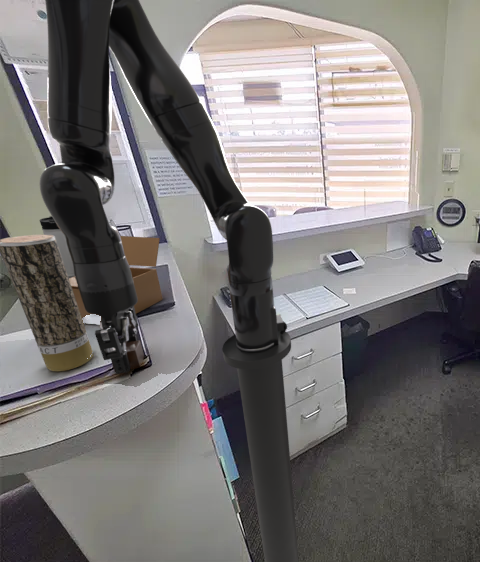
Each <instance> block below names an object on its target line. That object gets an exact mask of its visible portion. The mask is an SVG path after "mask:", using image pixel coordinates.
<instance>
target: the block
mask: <svg viewBox="0 0 480 562" xmlns="http://www.w3.org/2000/svg"><path fill="white" fill-rule="evenodd" d="M113 350H115V348H113ZM126 350H127V356H128V359H129V363H130V367H131V369H130V371H131V370H135V369H140V368H141V367H142V364H143V362H144V360H145V353H144V350H143V346H142V342H141V339H139V340H138V339H137V341H132V342H126ZM110 361H111V364H112V368H113V371H114V372H115V370H114V367H113V363H112V360H111V359H110Z"/></svg>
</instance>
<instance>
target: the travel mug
mask: <svg viewBox="0 0 480 562" xmlns="http://www.w3.org/2000/svg"><path fill="white" fill-rule="evenodd" d="M39 223H40V226H41V230H42V233H43V235H54V238H55V239H56V242H57V245H58V248H59V251H60V254H61V257H62V260H63V263H64V266H65V269H66V272H67V275H68V278H72V277H75V275H74V267H73V262H72V259H71V256H70V253H69V249H68V246H67V243H66V238H65V236H64V234H63V233H62V231H61V230H60V229H59V227H58V226H57V224H56V222H55V221H54V219H53V217H52V216H51V215H49V216H48V217H43V218H41V219H39Z"/></svg>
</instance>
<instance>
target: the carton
mask: <svg viewBox="0 0 480 562" xmlns="http://www.w3.org/2000/svg"><path fill="white" fill-rule="evenodd" d="M130 270H131V274H132V278H133V282H134V286H135V290H136V294H137V298H138V302H137V303H136V304H135V305H134V308H135V313H136V315H138V313H140V312H142V311H144V310H146V309H148V308H149V307H151V306H153V305H156V304H157V303H159V302H161V301H163V300H164V298H163V293H162V288H161V284H160V280H159V276H158V271H157V269H156V268H147V267H144V268H143V267H133V266H132V267H131V266H130ZM69 281H70V284H71V287H72V290H73V293H74V296H75V299H76V302H77V305H78V308H79V311H80V314H81V317H82V318H83V317H85V316H86V315H90V313H88V312H87V311H86V310H85V307H84V304H83V301H82V298H81V295H80V291H79V288H78V285H77V282H76V279H75V277H72V278H69Z"/></svg>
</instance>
